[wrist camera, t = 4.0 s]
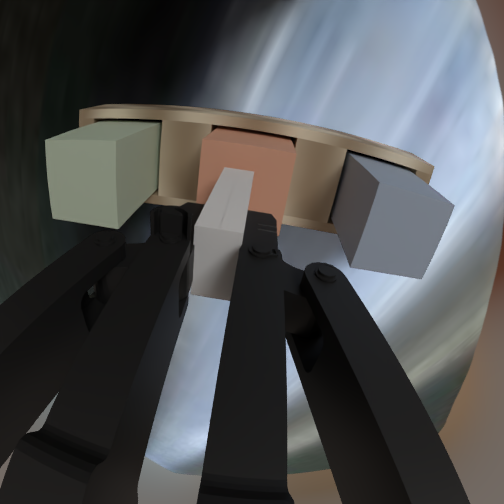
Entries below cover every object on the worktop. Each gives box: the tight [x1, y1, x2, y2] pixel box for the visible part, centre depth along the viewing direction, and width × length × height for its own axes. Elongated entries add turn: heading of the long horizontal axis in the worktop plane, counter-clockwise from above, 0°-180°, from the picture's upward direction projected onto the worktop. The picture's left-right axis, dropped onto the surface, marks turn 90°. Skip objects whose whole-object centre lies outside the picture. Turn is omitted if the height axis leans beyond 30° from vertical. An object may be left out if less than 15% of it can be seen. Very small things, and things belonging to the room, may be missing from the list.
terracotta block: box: [196, 125, 297, 236], centre depth 19 cm, size 5×5×7 cm
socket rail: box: [79, 104, 434, 234], centre depth 21 cm, size 26×7×4 cm, turn 81°
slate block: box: [330, 152, 454, 279], centre depth 17 cm, size 5×5×7 cm
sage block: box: [45, 120, 162, 229], centre depth 17 cm, size 5×5×7 cm
